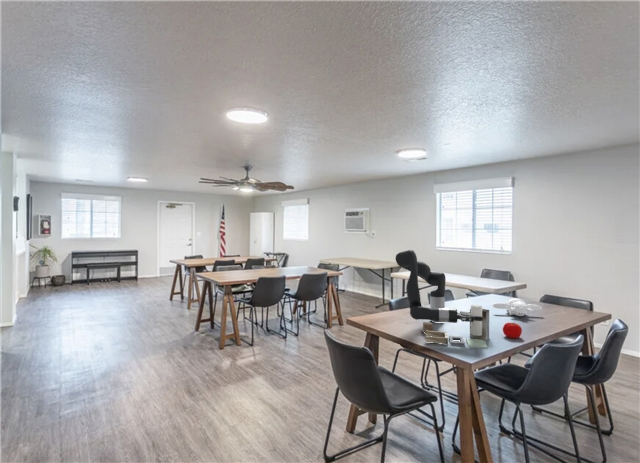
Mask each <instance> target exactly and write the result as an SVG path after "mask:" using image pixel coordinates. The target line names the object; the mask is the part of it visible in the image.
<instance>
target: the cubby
mask: <svg viewBox="0 0 640 463" xmlns="http://www.w3.org/2000/svg"><path fill="white" fill-rule="evenodd" d="M431 336H432V337H431ZM426 342H433V343H442V344H448V345H449V338H448V332H447V331H438V330H437V331H436V330H435V331H434V330H433V331H426V334H425V343H426Z"/></svg>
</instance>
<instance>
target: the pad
mask: <svg viewBox="0 0 640 463" xmlns="http://www.w3.org/2000/svg"><path fill="white" fill-rule="evenodd" d="M466 343H467V345H468V347H470V348H480V349H489V348H488V347H489V346H488V344H487V343H486V340H482V339H477V338H466Z"/></svg>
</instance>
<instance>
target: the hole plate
mask: <svg viewBox="0 0 640 463" xmlns="http://www.w3.org/2000/svg"><path fill="white" fill-rule="evenodd" d="M449 339H450V340H449ZM448 340H449V344H451V345H450V346H454V345H458V346H457V347H465V344H466V343H465V340H464V337H463V336H457V335H456V336H455V335H449V338H448ZM453 340H460V342H459V341H453Z"/></svg>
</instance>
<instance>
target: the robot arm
mask: <svg viewBox="0 0 640 463" xmlns="http://www.w3.org/2000/svg"><path fill="white" fill-rule="evenodd" d="M395 262H396V264H397V265H398V267H400V268H401V269H404V270H407V271H408V272H410V274H409V277H408V280H407V283H406V288H405V289H406V296H407V300H408V305H409V314H410V317H411V318H412V319H413V320H416V321H417V320H422V321H423V320H426V321H427V320H428V321H430V320H431V321H433V322H445V323H452V324H454V323H455V324H457V323H458V320H460V321H461V322H465V323H466V322H467V323H470V322H474V321H482V317H479V316H471V312H470V311H461V310H460V311H459V312H458V309H457V308H451V307H449V308H448V307H446V304H445V303H446V302H445V301H446V300H445V296H446V295H445V293H446V282H447V280H446V274H445V273H444V272H437V271H432V270H431V268H430V266H429V265H428V264H427V263H426V262H424V261H420V260H418V258H417V254H416V252H415V251H414V250H413V249H408V250H404V251H400V252H398V253H397V254H396V255H395ZM419 278H421V279H422V280H424V281H425V282H426V283H427V284H428V285H429V286H433V287H437V288H436V289H435V290H432V291H430V293H429V305H430V307H426V306H422V301H421V294H420V293H421V292H420V288H419ZM470 318H471V319H470Z"/></svg>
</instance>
